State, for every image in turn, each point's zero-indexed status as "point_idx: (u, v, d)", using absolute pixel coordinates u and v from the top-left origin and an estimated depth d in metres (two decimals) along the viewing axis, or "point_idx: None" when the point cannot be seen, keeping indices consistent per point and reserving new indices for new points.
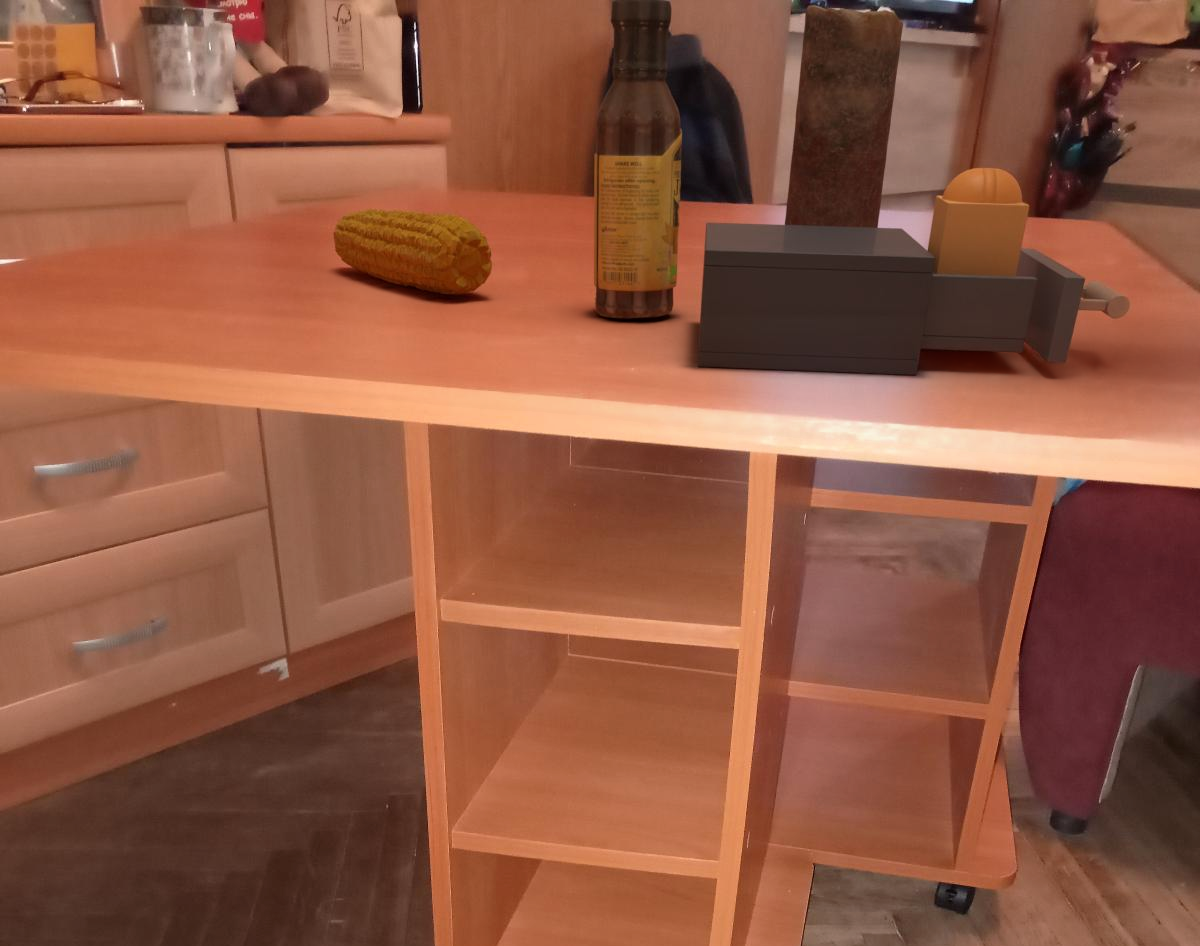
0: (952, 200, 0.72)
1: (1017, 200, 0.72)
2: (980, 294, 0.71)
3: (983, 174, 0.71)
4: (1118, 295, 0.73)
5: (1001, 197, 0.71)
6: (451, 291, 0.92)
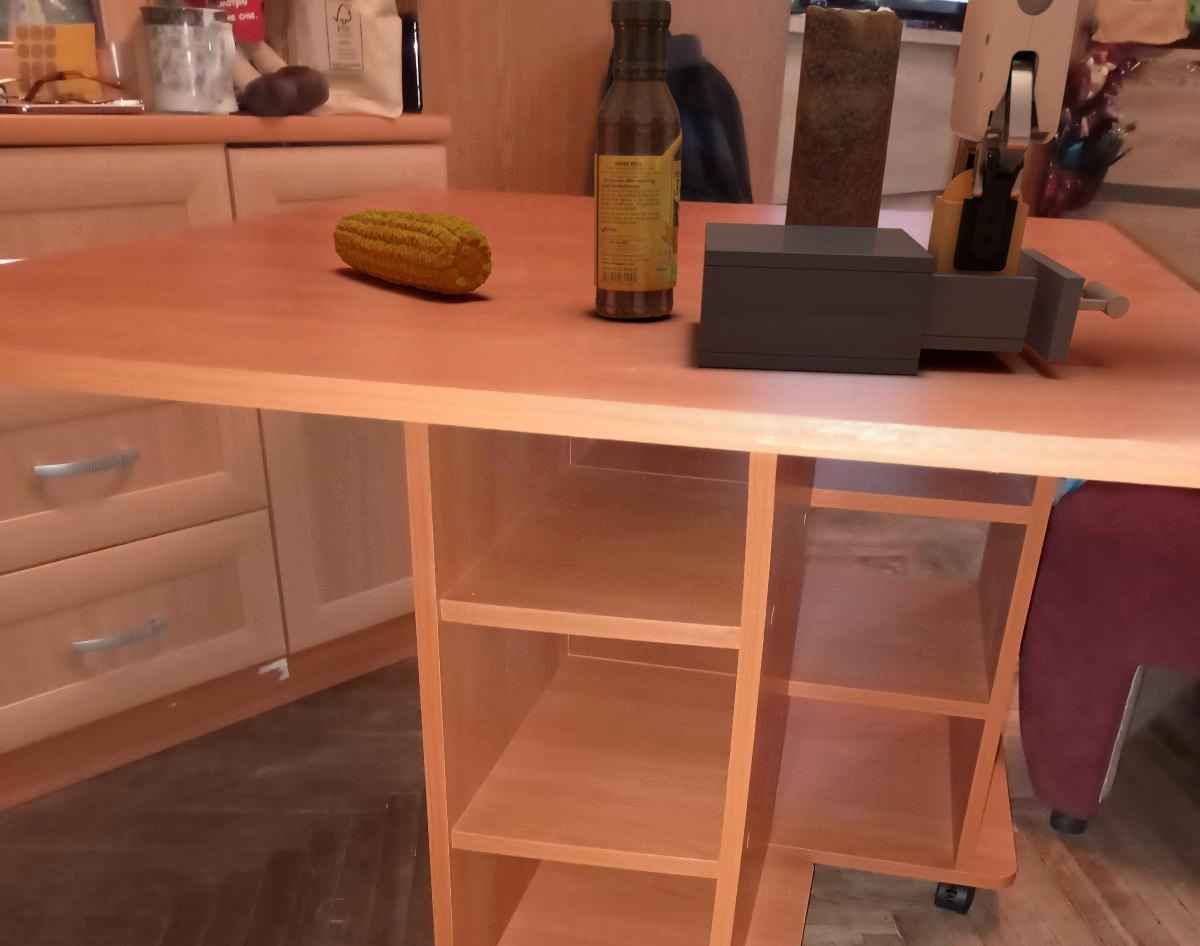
0: (952, 200, 0.72)
1: None
2: (980, 294, 0.71)
3: None
4: (1118, 295, 0.73)
5: None
6: (451, 291, 0.92)
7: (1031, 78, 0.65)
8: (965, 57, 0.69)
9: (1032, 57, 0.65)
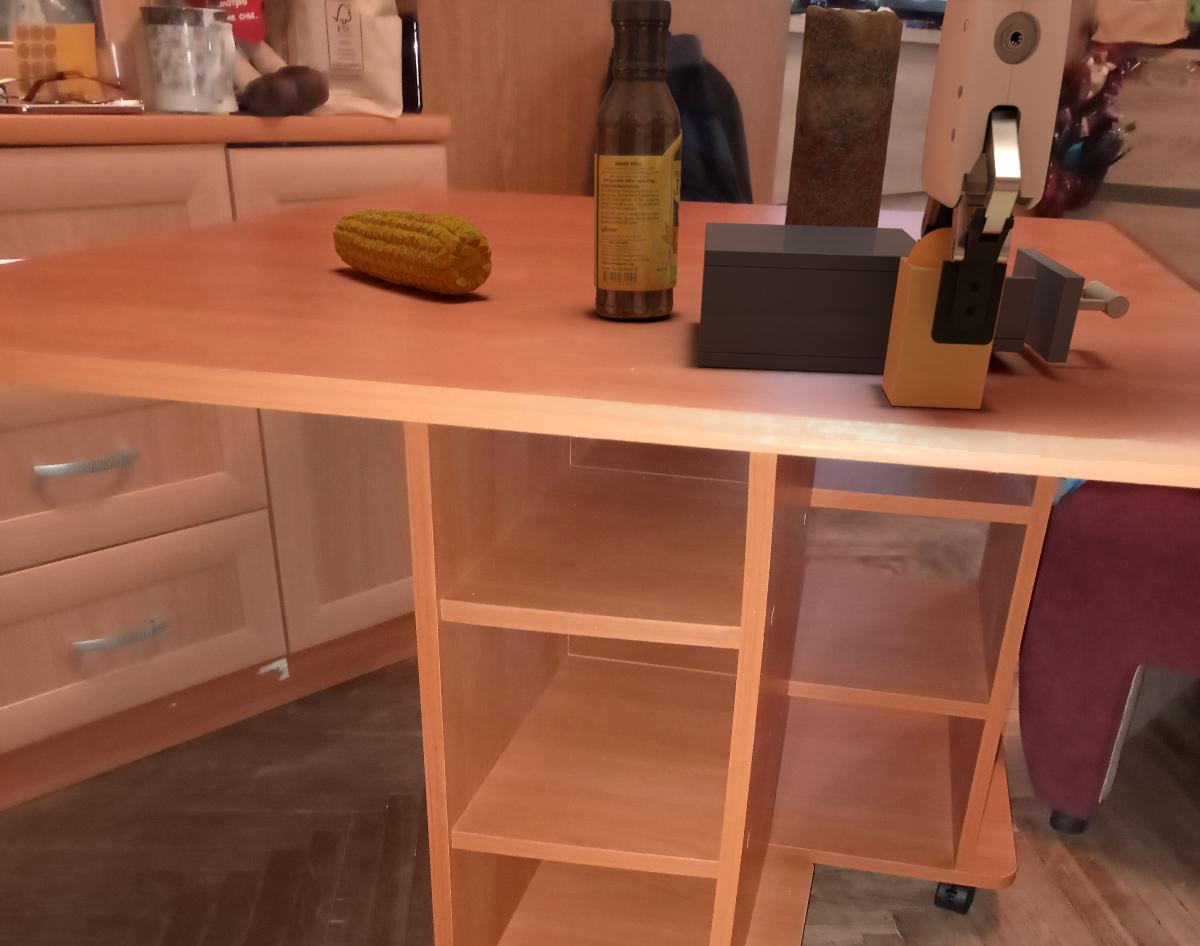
0: (917, 265, 0.63)
1: None
2: None
3: None
4: (1118, 295, 0.73)
5: None
6: (451, 291, 0.92)
7: (1015, 124, 0.55)
8: (936, 108, 0.60)
9: (1014, 106, 0.56)
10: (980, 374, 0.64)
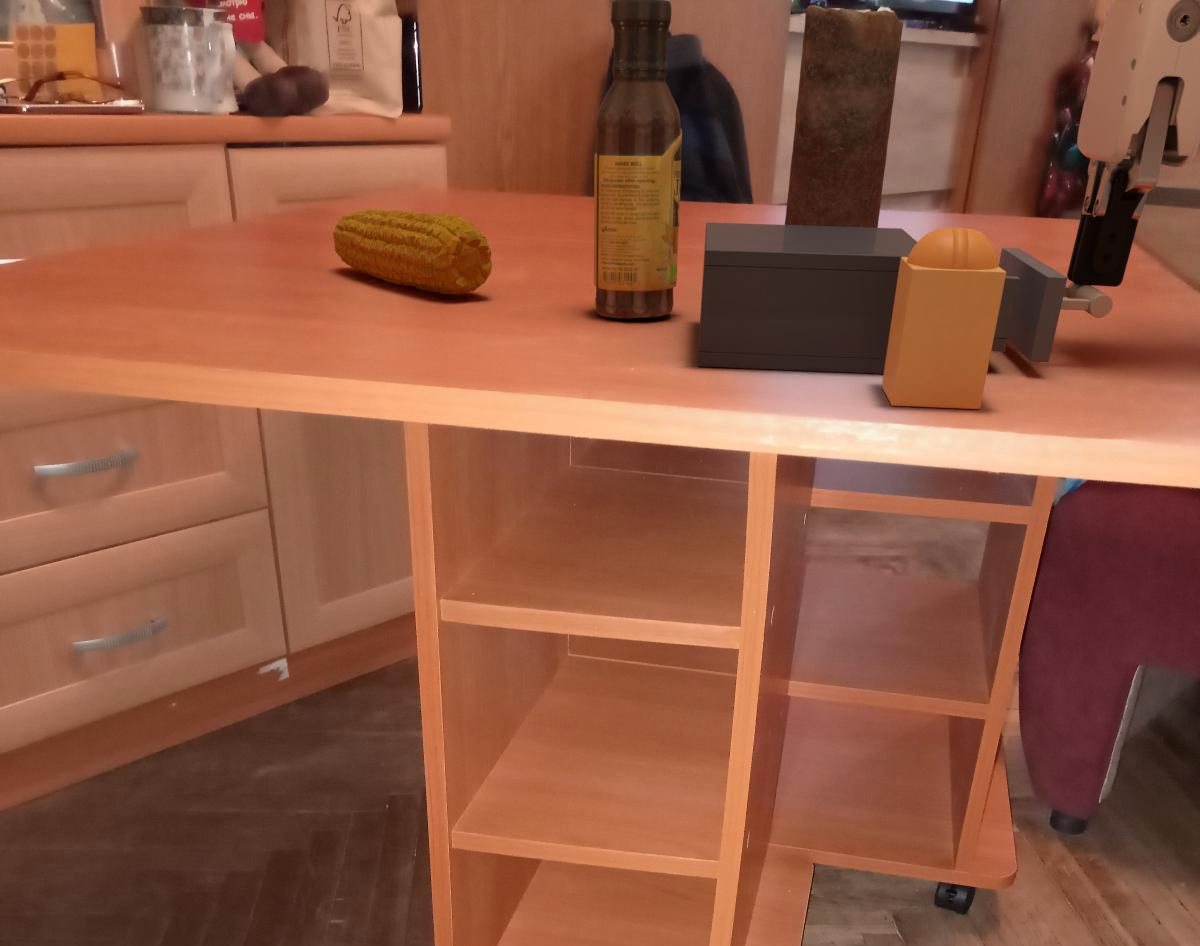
0: (917, 265, 0.63)
1: (992, 265, 0.62)
2: None
3: (953, 235, 0.62)
4: (1101, 294, 0.73)
5: (973, 262, 0.62)
6: (451, 291, 0.92)
7: (1169, 113, 0.67)
8: (1103, 80, 0.70)
9: (1174, 89, 0.67)
10: (980, 374, 0.64)
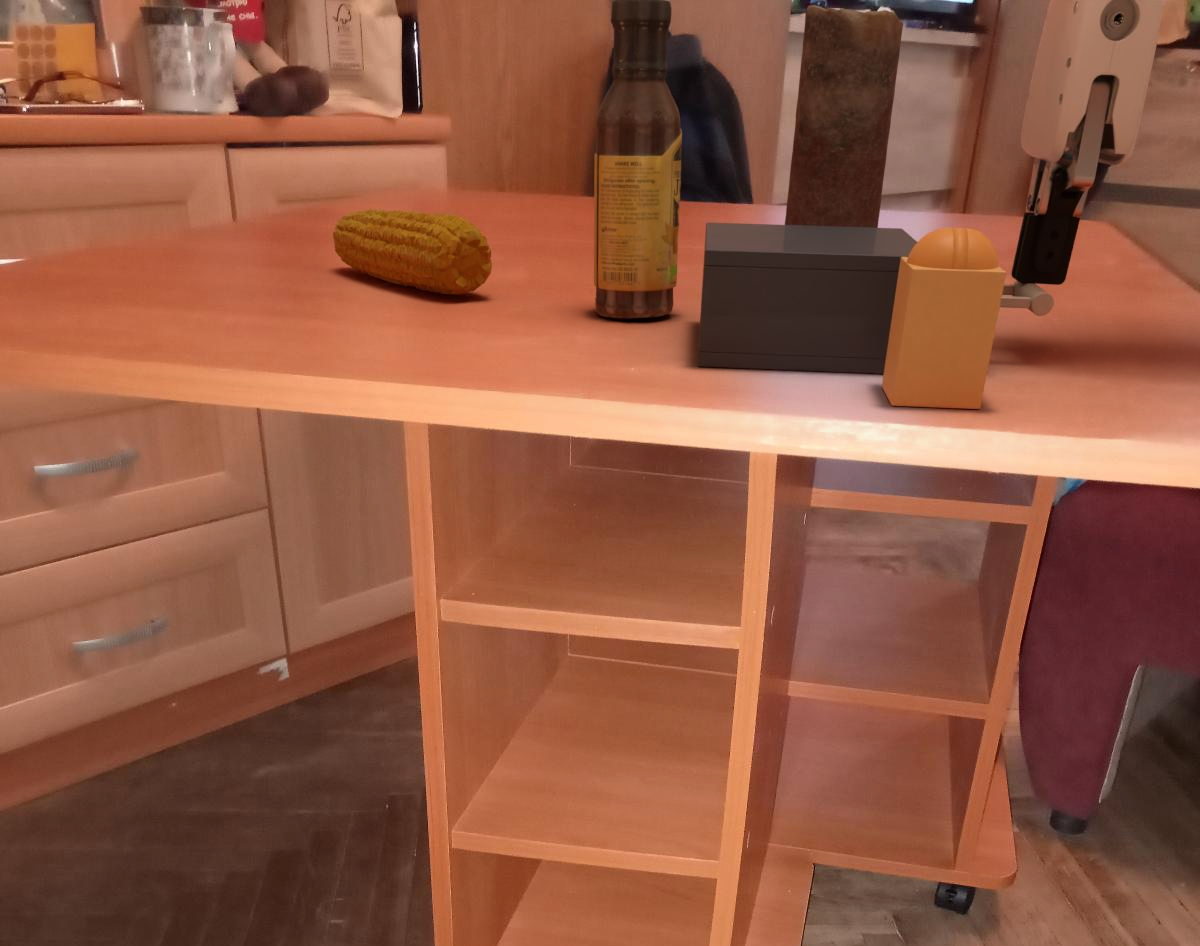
0: (917, 265, 0.63)
1: (992, 265, 0.62)
2: None
3: (953, 235, 0.62)
4: (1042, 292, 0.73)
5: (973, 262, 0.62)
6: (451, 291, 0.92)
7: (1105, 112, 0.68)
8: (1042, 78, 0.71)
9: (1110, 87, 0.67)
10: (980, 374, 0.64)
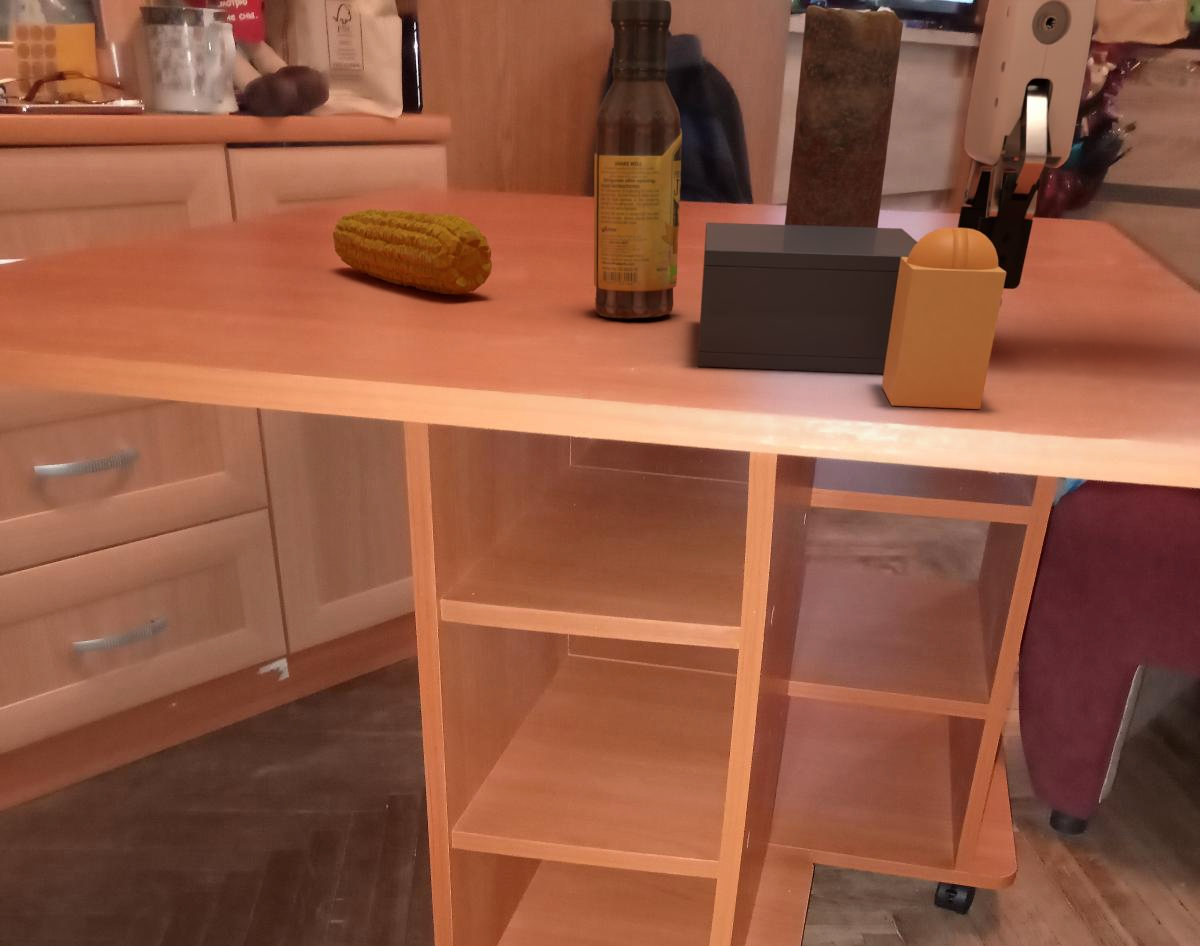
0: (917, 265, 0.63)
1: (992, 265, 0.62)
2: None
3: (953, 235, 0.62)
4: None
5: (973, 262, 0.62)
6: (451, 291, 0.92)
7: (1046, 101, 0.67)
8: (980, 82, 0.71)
9: (1046, 83, 0.67)
10: (980, 374, 0.64)
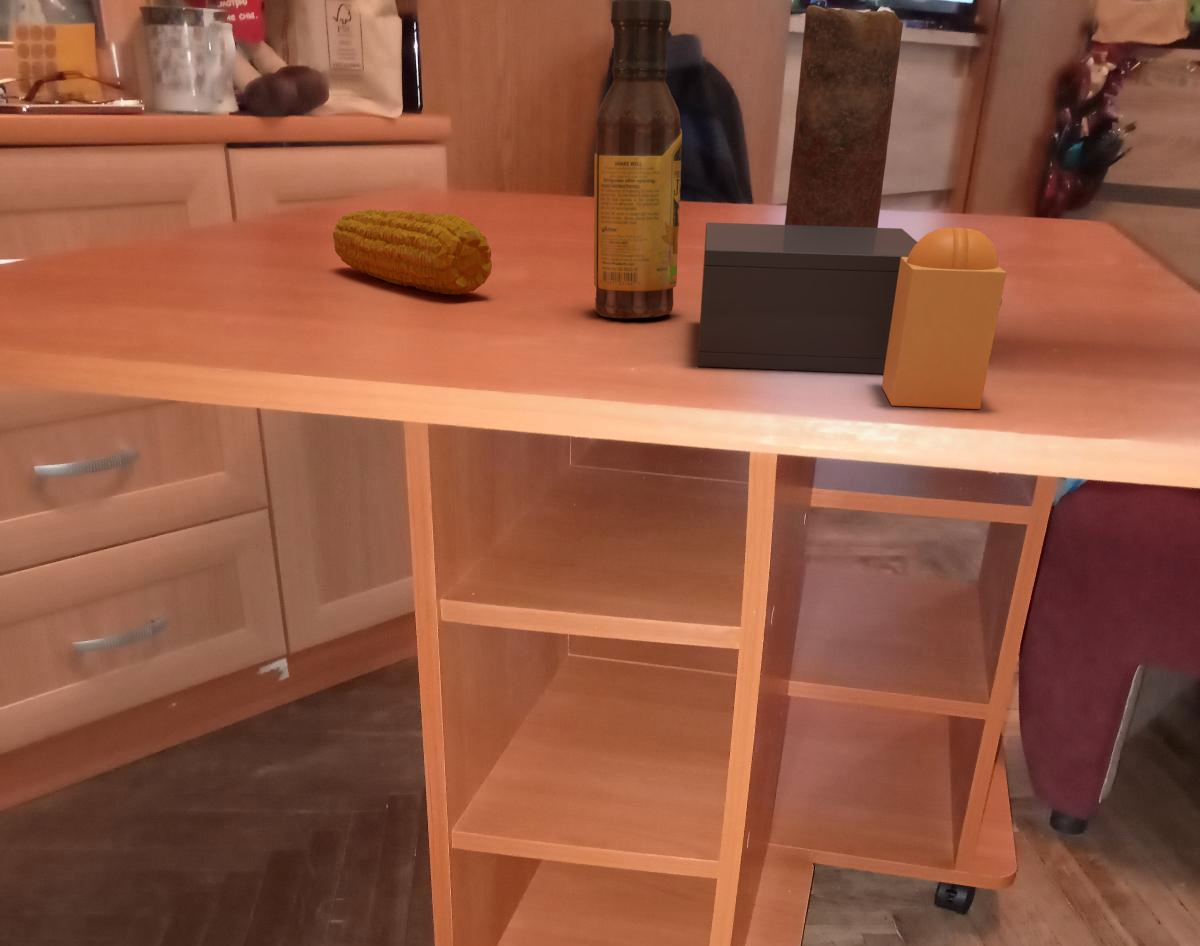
0: (917, 265, 0.63)
1: (992, 265, 0.62)
2: None
3: (953, 235, 0.62)
4: None
5: (973, 262, 0.62)
6: (451, 291, 0.92)
7: None
8: None
9: None
10: (980, 374, 0.64)
